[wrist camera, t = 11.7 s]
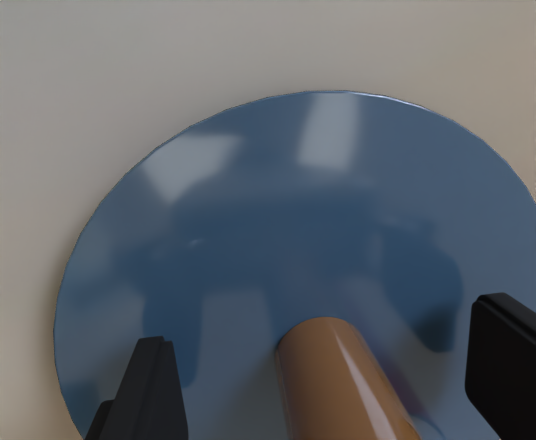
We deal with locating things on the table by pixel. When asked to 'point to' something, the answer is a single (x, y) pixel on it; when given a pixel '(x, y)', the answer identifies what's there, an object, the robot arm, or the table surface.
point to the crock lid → (301, 271)
